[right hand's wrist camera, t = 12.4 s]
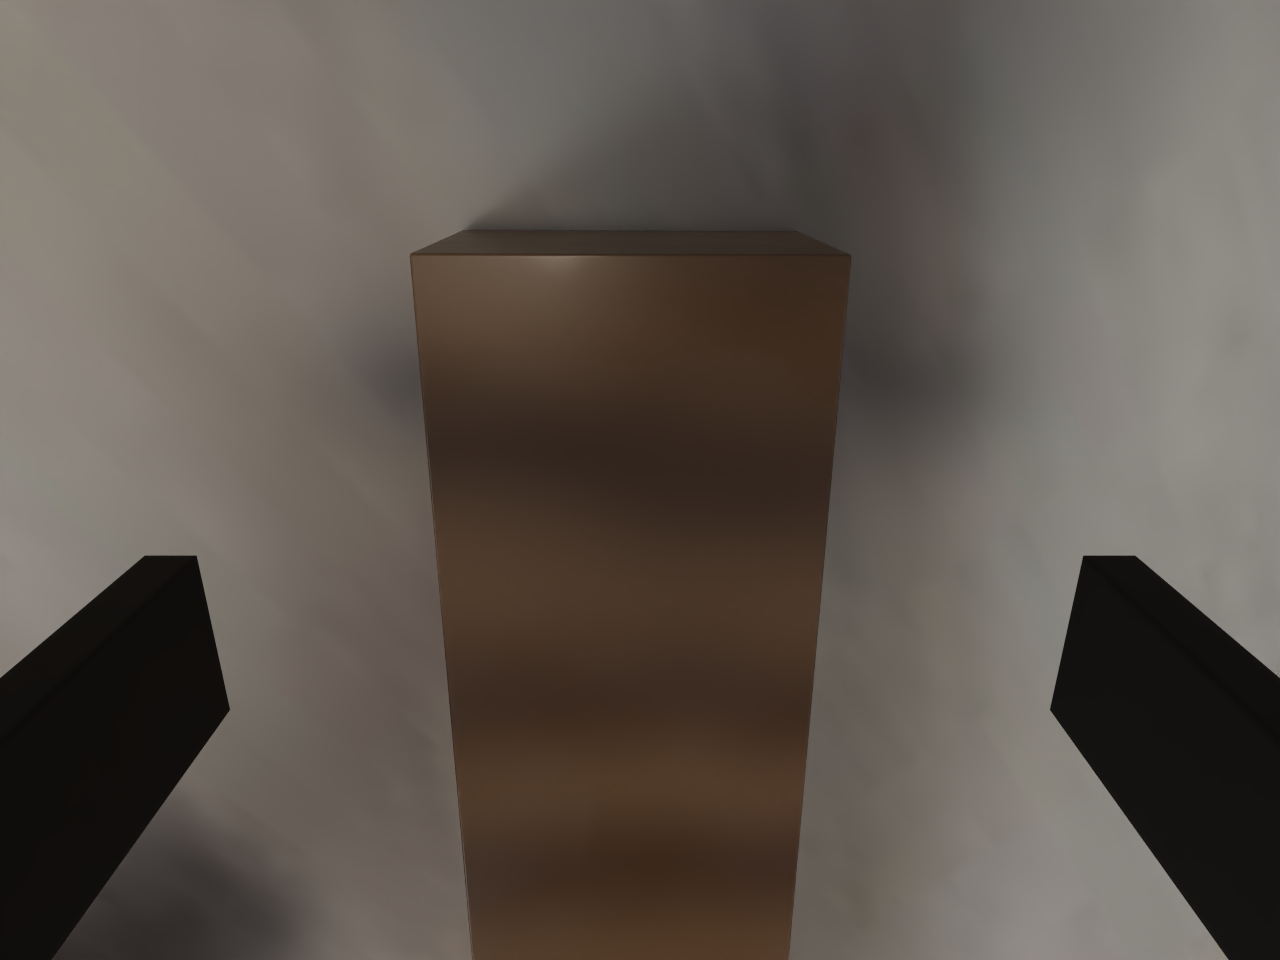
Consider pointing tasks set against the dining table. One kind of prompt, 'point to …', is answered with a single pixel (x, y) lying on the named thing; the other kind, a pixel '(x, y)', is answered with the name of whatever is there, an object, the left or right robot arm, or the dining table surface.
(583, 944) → the thick board
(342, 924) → the dining table surface
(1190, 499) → the dining table surface
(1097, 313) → the dining table surface
